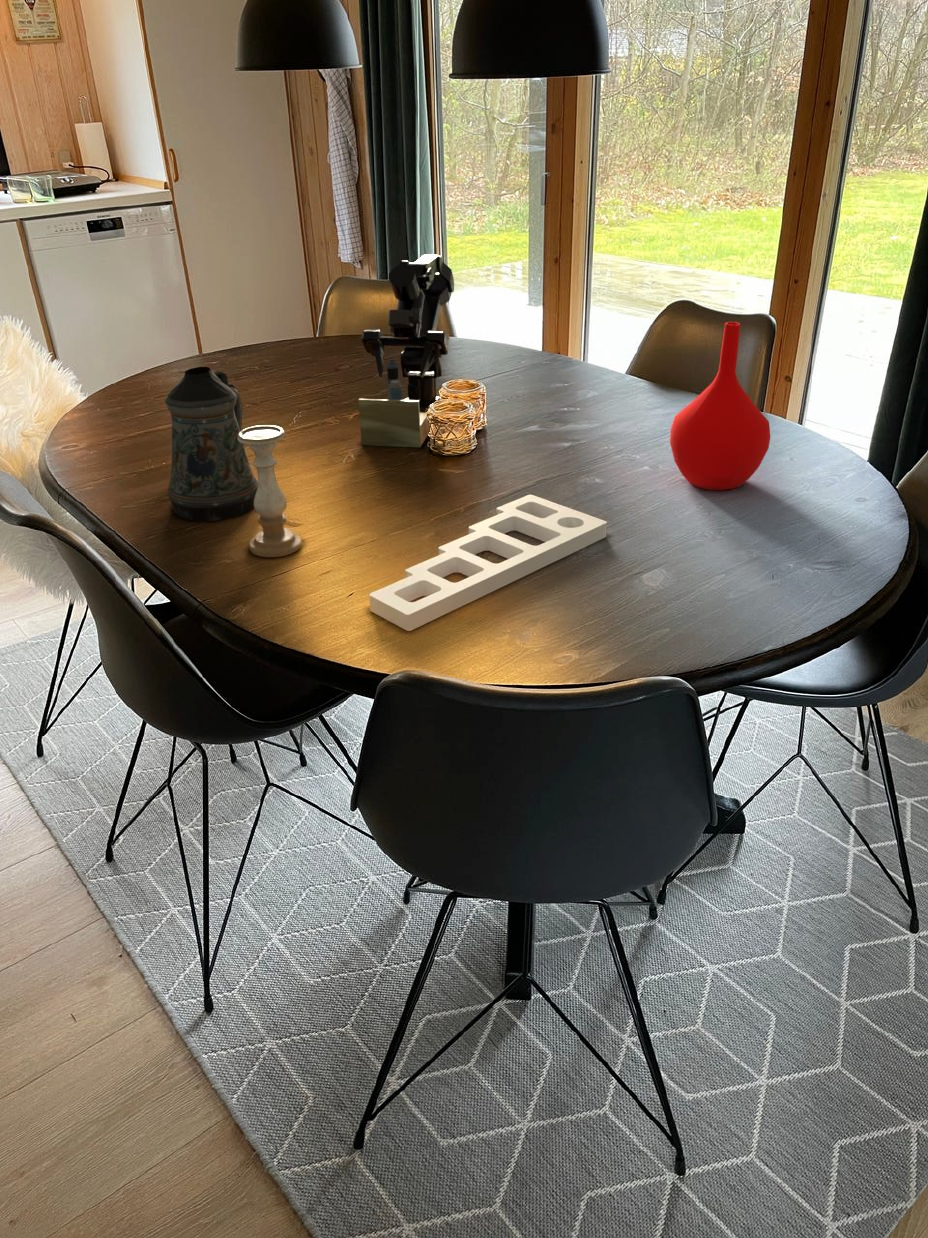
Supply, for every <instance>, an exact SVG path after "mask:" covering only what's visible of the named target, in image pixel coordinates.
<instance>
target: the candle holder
mask: <svg viewBox="0 0 928 1238" xmlns="http://www.w3.org/2000/svg"><path fill="white" fill-rule="evenodd" d="M285 437H286V432H285V430H284V429H283V428H282V427H280V426H278V425H271V424H262V425H254V426H250V427H246V428H243V429H241V431H240V432H239V433H238V435H237V439H238V441H239V442H240V443H242V444H244V446H248V447H249V449H250V450H251V451H252V452H253V453H254V455H255V458H254V459H253V462H252V466H253V467H255V468H256V472H257V481H258V488H257V491H256V494H255V497H254V507H253V509H254V511H255V512H256V514H258V515H259V516H258V518H257V523H258V524H259V526H261V527H262V530H260V531H259V532H257V533H256V534H255V535H254V537H253V538H252V539H251V540H250V541H249V543H248V548H249V551H250V552H251V553H252V554H253V555H255V556H257V557H261V558H279V557H285V556H288V555H291V554H294V553H295V552H297V551H299V550H300V548H301V546H302V538H301V536H300V535H298V533H296V532H294V531H293V530H291V529H290V528H286V527H284V526H285V523H286V521H287V519H288V517H287V515H286V514H284V512H285V511H286V509H287V504H288V503H287V498H286V495H285V494H284V492H283V490H282V489H281V488H280V486H279V484H278V481H277V478H276V477H277V476H276V473H275V466H276V465H277V464H278V462H277V460H276V458H275V457H274V456H273V451H274V449H275V448H276V445H277V443H279V442H281V441H282V440H284V439H285Z"/></svg>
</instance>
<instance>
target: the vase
mask: <svg viewBox="0 0 928 1238" xmlns="http://www.w3.org/2000/svg"><path fill="white" fill-rule="evenodd" d="M740 330H741V323H740V322H737V321H726V322H724V328H723V335H722V343H721V349H720V357H719V358H720V359H719V366H718V371H717V373H716V375H715V377H714V379H713V381H712V382H711V383H710V384H709V385H708V386H707V387H706V388H705V389H704V390H703V391H702V392H701V393H700V394H699V395H698V396H696V397H695V399H693V400H692V401H691V402H690V403H689V404H688V405H686V406H685V407H684V408H682V410H680V411H679V412H678V413H677V414H676V415H675V416H674V417H673V420H672V424H671V428H670V433H669V445H670V449H671V453H672V456H673V457H672V458H673V461H674V462H675V465H676V467H677V468H678V470H679V472H680V473H681V475H682V476H683V477H684V478H685V480H686V481H688V483H690V484H691V485H692V486H695V487H697V488H701V489H705V490H711V491H725V490H732V489H736V488H738V487H740V486H741V485H743V484H744V483H745V482H747V481H749V479H750V478H751V477H752V476H753V475H754V474H755V472H756V471H758V469H759V467H760V466H761V464H762V462H763V460H764V458H765V456H766V455H767V452H768V450H769V448H770V444H771V443H770V442H771V429H770V421H769V419H767V418H766V416H765V415H764V414H763V412H762V411H761V410H760V409H759V408H758V407H757V406H756V404H755V403H754V402H753V400H752V399H751V398H750V397H749V395H748V394H747V392H746V391H745V390H744V388H743V387H742V386H741V384H740V381H739V378H738V377H737V362H738V353H739V342H740V341H739V340H740Z"/></svg>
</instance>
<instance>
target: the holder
mask: <svg viewBox="0 0 928 1238" xmlns="http://www.w3.org/2000/svg"><path fill="white" fill-rule="evenodd" d="M607 526H608V521H606V520H604V519H601V518H598V517H596V516H592V515H590V514H587V513H585V512H582V511H579V510H575V509H574V508H570V507H567V506H564V505H561V504H560V503H556V502H553V501H550V500H548V499H546V498H542V497H539V496H538V495H537V496H536V495H533V494H527V495H525V496H522V497H520V498H517V499H515V500H512V501H510V502H508V503H504V504H503V505H500V506H498V507H496V515H493V516H491V517H489V518H486V519H484V520H481V521H478V522H476V523H474V524H472V525H469V526H468V534H467V535H464V536H462V537H461V536H460V537H459V538H457V539H455V540H451V541H449V542H447V543H445V544H443V545H440V546H438V555H436V556H433V557H431V558H429V559H427V560H423V561H421V562H419V563H416V564H415V565H412V566H410V567H408V568H405V569H404V571H405V578H402V579H400V580H398V581H395V582H394V583H391V584H389V585H386V586H384V587H382V588H380V589H377V590H375V591H372V592H370V593H369V594H368V595H369V596H368V597H369V605H370V606H369V608H370V609H369V610H370V612H371V613H373V614H375V615H377V616H379V617H381V618H382V619H384V620H386V621H388V622H390V623H392V624H394V625H396V626H397V627H399V628H401V629H403V630H405V631H406V632H411V631H413V630H415V629H417V628H419V627H421V626H423V625H426V624H428V623H430V622H432V621H434V620H436V619H438V618H440V617H442V616H444V615H447V614H449V613H451V612H453V611H455V610H457V609H459V608H461V607H463V606H465V605H467V604H469V603H471V602H473V601H476V600H478V599H480V598H482V597H484V596H486V595H489V594H490V593H492V592H495V591H497V590H498V589H500V588H503V587H505V586H507V585H509V584H512V583H513V582H516V581H517V580H520V579H522V578H524V577H526V576H528V575H530V574H532V573H534V572H536V571H538V570H540V569H542V568H544V567H546V566H549V565H551V564H553V563H555V562H557V561H559V560H562V559H563V558H565V557H568V556H569V555H571V554H574V553H576V552H578V551H580V550H582V549H584V548H586V547H588V546H591V545H592V544H595V543H596V542H599V541H600V540H603V539H605V538H607ZM513 531H514V532H515V531H516V532H519V533H521V534H523V535H526V536H529V537H531V538H534V539H536V540H539V541H541V542H543V543H541V544H538V545H532V544H530V543H528V542H524V541H522V540H519V539H518V538H515V537H512V536H510V535H507V533H509V532H513ZM485 551H487V552H488V551H489V552H491V553H494V554H496V555H498V556H501V557H503V558H505V559H506V560H503V561H502V562H499V563H494V562H491V561H489V560H487V559H486V558H485V559H484V558H482V557H480V556H477V554H480V553H482V552H485ZM454 573H460V574H462V575H464V576H466V577H467V578H464V579H462V580H460V581H457V582H452V581H449V580H447V579H446V578H445V577H447V576H449V575H452V574H454ZM421 597H423V598H421ZM418 598H421V599H418ZM416 599H418V600H416ZM414 600H416V601H414Z"/></svg>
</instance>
